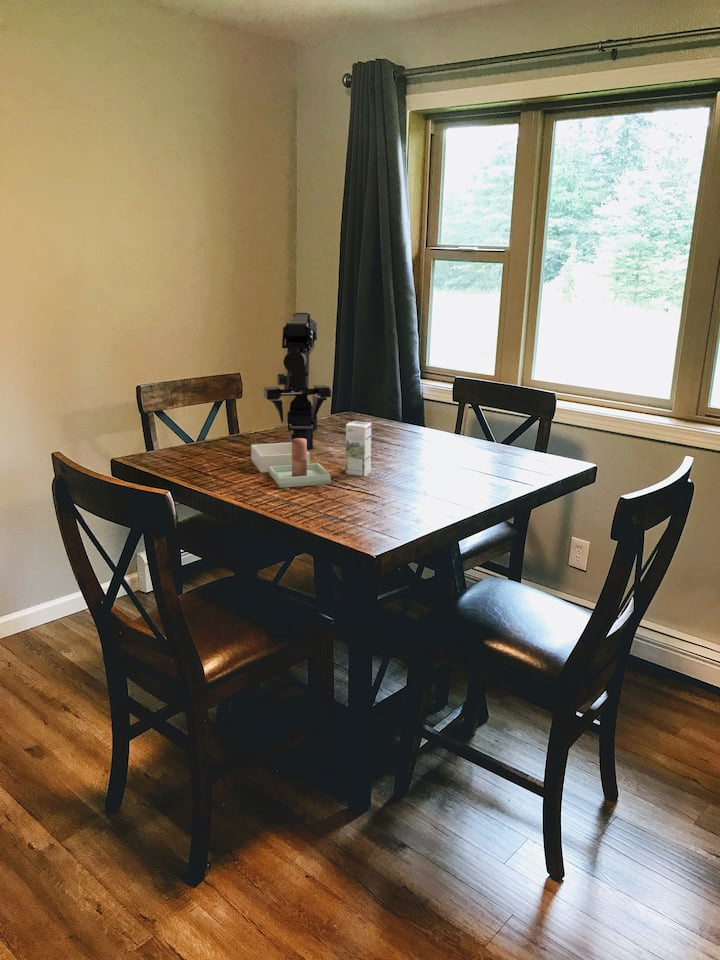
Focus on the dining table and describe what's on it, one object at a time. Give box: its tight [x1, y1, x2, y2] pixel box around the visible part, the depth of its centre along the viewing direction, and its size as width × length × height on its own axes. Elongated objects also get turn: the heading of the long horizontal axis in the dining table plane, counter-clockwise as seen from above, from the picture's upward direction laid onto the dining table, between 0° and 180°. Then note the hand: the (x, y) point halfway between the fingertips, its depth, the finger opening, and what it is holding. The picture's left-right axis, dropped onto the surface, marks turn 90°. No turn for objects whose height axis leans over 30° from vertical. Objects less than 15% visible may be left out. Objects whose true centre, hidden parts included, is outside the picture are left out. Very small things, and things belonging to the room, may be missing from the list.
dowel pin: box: [292, 438, 308, 477], centre depth 204 cm, size 4×4×10 cm
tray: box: [268, 462, 332, 489], centre depth 205 cm, size 14×12×2 cm
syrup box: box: [345, 420, 372, 477], centre depth 210 cm, size 6×6×14 cm
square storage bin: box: [250, 441, 311, 473], centre depth 218 cm, size 14×14×5 cm
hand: (297, 421), depth 220 cm, fingers open, 9 cm apart
